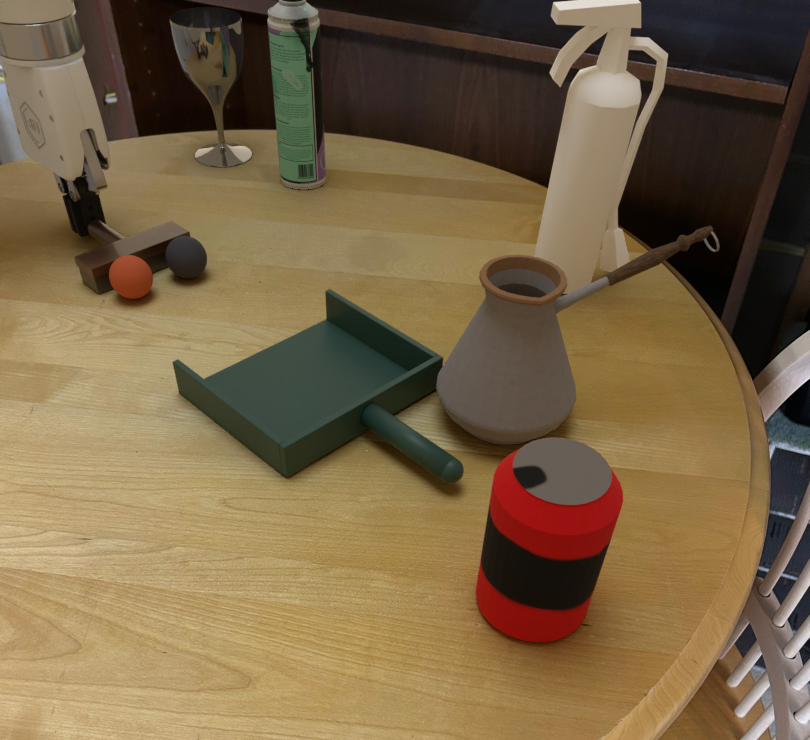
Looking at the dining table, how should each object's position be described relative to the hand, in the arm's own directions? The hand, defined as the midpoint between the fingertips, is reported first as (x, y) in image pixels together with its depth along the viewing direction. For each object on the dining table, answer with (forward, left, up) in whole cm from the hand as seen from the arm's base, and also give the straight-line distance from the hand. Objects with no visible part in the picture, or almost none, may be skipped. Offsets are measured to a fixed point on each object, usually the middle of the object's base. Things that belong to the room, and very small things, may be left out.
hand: (90, 230), depth 86 cm
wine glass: (-8, +23, -1) cm, 24 cm away
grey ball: (+14, +3, +1) cm, 14 cm away
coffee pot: (+52, +14, -1) cm, 54 cm away
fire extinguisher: (+40, +32, -1) cm, 51 cm away
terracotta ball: (+13, -3, +1) cm, 14 cm away
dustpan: (+42, 0, -1) cm, 41 cm away
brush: (+6, 0, -1) cm, 7 cm away
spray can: (+4, +26, -1) cm, 26 cm away
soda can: (+64, -4, -1) cm, 64 cm away
